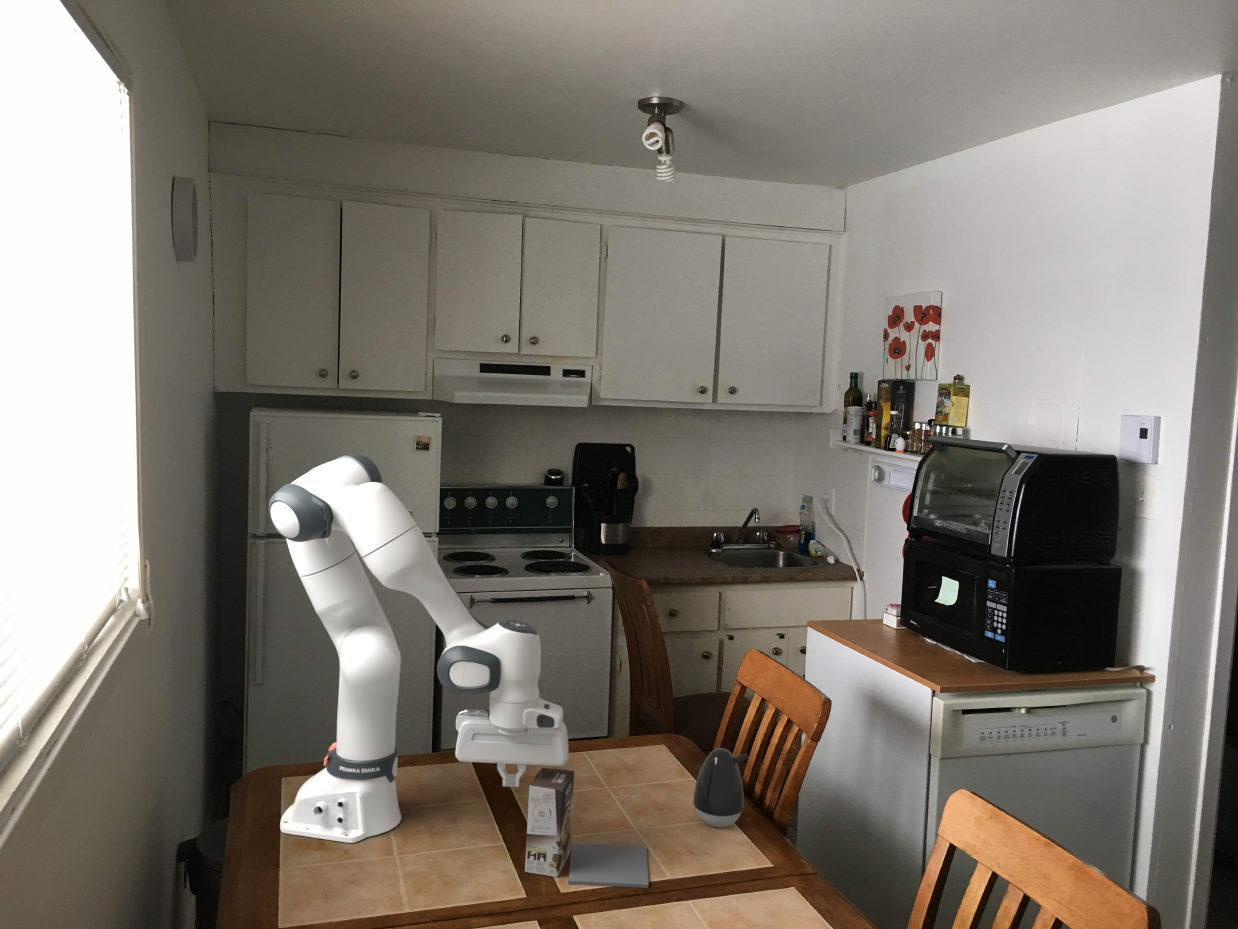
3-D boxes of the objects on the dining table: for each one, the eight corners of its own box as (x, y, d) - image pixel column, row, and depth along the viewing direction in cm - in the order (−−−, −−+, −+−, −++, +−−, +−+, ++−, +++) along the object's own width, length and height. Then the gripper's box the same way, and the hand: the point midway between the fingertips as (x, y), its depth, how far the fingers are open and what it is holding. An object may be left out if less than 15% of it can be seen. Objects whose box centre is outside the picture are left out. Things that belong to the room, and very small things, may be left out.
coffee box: (558, 878, 169) (562, 790, 167) (523, 872, 170) (527, 785, 169) (571, 854, 178) (575, 770, 176) (538, 849, 179) (542, 765, 178)
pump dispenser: (746, 834, 189) (751, 760, 188) (694, 832, 189) (698, 757, 187) (740, 811, 199) (744, 741, 198) (690, 809, 199) (694, 738, 198)
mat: (568, 884, 167) (568, 880, 167) (572, 845, 181) (572, 842, 181) (648, 888, 167) (648, 884, 167) (645, 849, 181) (646, 846, 181)
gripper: (453, 714, 168) (450, 790, 169) (569, 720, 168) (565, 796, 169) (459, 702, 174) (456, 775, 176) (571, 708, 175) (567, 781, 176)
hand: (511, 785), depth 172 cm, fingers closed
